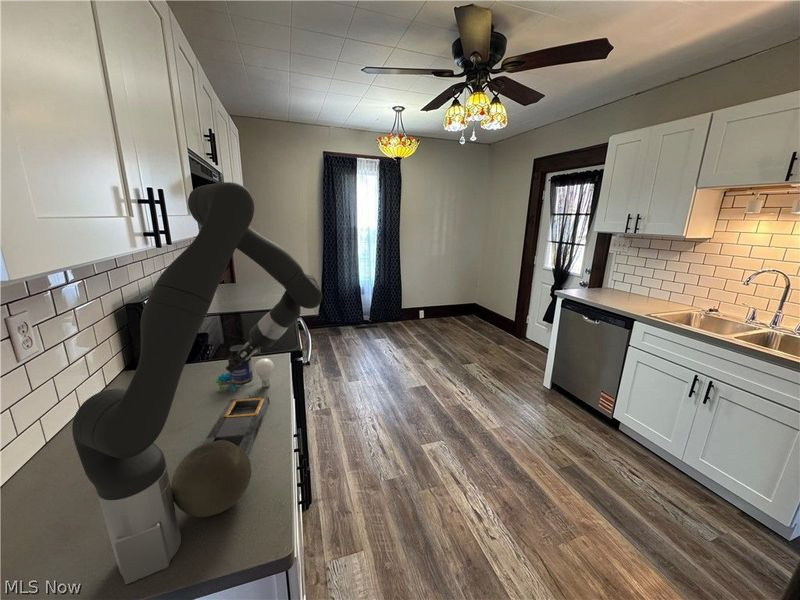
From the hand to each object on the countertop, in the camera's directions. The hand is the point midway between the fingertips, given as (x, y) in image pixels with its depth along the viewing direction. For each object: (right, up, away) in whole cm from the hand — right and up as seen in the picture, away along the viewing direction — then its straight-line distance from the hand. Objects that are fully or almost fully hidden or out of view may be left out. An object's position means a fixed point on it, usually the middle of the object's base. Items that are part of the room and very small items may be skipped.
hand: (234, 364), depth 96 cm
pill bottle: (+2, -5, +1) cm, 6 cm away
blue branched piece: (-11, -12, +20) cm, 26 cm away
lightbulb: (+1, -12, +21) cm, 24 cm away
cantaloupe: (+11, -26, -27) cm, 39 cm away
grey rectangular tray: (+3, -19, -4) cm, 19 cm away
